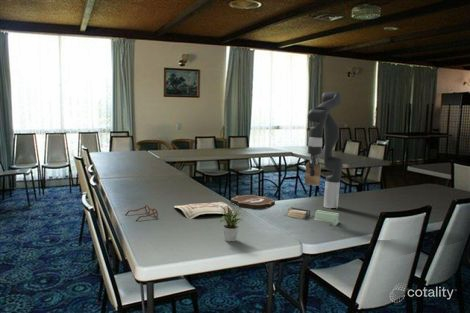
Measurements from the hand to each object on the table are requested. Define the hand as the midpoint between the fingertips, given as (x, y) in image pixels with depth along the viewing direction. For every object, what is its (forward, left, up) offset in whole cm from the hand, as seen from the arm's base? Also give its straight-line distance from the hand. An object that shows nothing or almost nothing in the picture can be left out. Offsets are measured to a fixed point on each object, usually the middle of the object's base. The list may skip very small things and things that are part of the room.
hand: (312, 175), depth 213 cm
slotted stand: (+1, +10, -25) cm, 27 cm away
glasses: (+54, -77, -26) cm, 97 cm away
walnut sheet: (0, 0, -5) cm, 5 cm away
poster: (+24, -56, -26) cm, 66 cm away
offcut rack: (+3, -6, -25) cm, 26 cm away
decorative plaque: (-13, -41, -26) cm, 50 cm away
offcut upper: (+5, -6, -22) cm, 23 cm away
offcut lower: (+5, -6, -24) cm, 25 cm away
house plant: (+60, -22, -25) cm, 68 cm away
